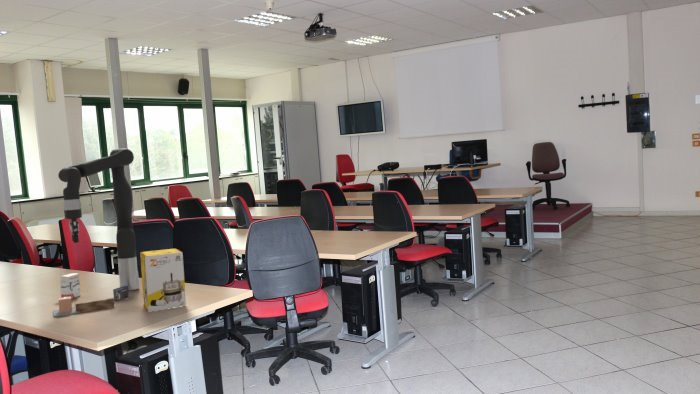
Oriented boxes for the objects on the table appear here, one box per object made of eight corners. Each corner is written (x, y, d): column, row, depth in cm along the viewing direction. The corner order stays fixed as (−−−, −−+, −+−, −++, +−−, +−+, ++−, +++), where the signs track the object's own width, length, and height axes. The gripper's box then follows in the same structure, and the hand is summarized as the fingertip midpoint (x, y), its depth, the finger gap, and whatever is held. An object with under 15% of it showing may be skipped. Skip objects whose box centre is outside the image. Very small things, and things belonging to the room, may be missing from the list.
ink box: (69, 299, 280) (67, 276, 280) (61, 299, 281) (59, 276, 281) (81, 295, 289) (79, 272, 288) (72, 295, 290) (71, 273, 289)
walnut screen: (113, 306, 262) (113, 297, 261) (114, 306, 260) (113, 298, 260) (75, 312, 254) (75, 303, 254) (76, 312, 252) (75, 304, 252)
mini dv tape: (116, 301, 271) (115, 289, 271) (114, 301, 272) (113, 289, 271) (128, 297, 279) (127, 285, 279) (126, 297, 280) (125, 285, 279)
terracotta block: (71, 309, 257) (70, 296, 257) (72, 311, 253) (71, 298, 252) (59, 311, 254) (58, 297, 254) (59, 313, 250) (58, 299, 250)
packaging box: (148, 312, 247) (144, 256, 245) (143, 305, 261) (140, 252, 260) (186, 306, 254) (182, 252, 253) (179, 299, 268) (175, 248, 267)
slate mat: (77, 308, 261) (77, 306, 261) (79, 313, 251) (78, 312, 251) (53, 311, 256) (53, 310, 256) (53, 317, 246) (53, 316, 246)
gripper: (82, 208, 266) (85, 242, 267) (79, 207, 279) (82, 239, 280) (64, 210, 263) (67, 244, 264) (63, 208, 275) (66, 241, 276)
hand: (75, 241), depth 272 cm, fingers open, 8 cm apart
